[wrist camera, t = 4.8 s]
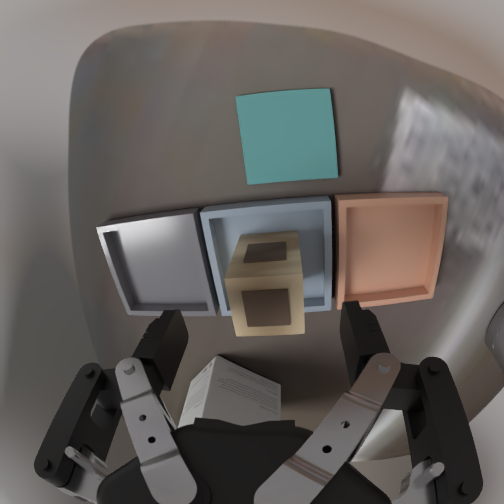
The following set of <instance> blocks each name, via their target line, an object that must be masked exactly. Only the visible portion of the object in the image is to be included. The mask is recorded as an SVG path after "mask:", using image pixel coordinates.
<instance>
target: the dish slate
mask: <svg viewBox="0 0 504 504" xmlns="http://www.w3.org/2000/svg"><path fill="white" fill-rule="evenodd" d="M200 216H201V221H202V226H203V231H204V236H205V241H206V246H207V251H208V255H209V260H210V265H211V269H212V274H213V278H214V283H215V287H216V291H217V296H218V300H219V304H220V309H221V313H222V316H232V314H231V310H230V305H229V300H228V295H227V291H226V286H225V281H224V278H225V275H226V272H227V269H228V267H229V264H230V261H231V259H232V256H233V253H234V250H235V248H236V245H237V242H238V240H239V237H240V235H245V234H257V233H270V232H282V231H296V230H297V232H298V239H299V247H300V255H301V263H302V272H303V292H304V312H315V311H327V310H331V294H332V221H331V200H330V199H329V197H328V196H327V195H323V196H308V197H294V198H282V199H270V200H259V201H249V202H239V203H230V204H221V205H212V206H205V207H204V209H203V210H202V211H201V212H200Z"/></svg>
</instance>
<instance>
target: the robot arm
mask: <svg viewBox="0 0 504 504" xmlns="http://www.w3.org/2000/svg"><path fill="white" fill-rule="evenodd" d="M145 332H146V333H144V335H143V337H142V339H141V341H140V342H139V344H138V346H137V348H136V350H135V352H134V353H133V355H132V357H131V358H127V359H124V360H122V361H121V362H120V363H119V364H118V365H117V366H116V368H114V369H107V370H102V368H101V367H100V365H99V364H97V363H89V364H86V365H84V366H83V367H82V368H81V369H80V370H79V372H78V374H77V375H76V377H75V379H74V381H73V383H72V385H71V386H70V388H69V390H68V392H67V394H66V396H65V397H64V399H63V401H62V403H61V405H60V407H59V409H58V411H57V413H56V415H55V417H54V419H53V421H52V423H51V425H50V427H49V429H48V432H47V434H46V436H45V438H44V440H43V442H42V445H41V447H40V449H39V451H38V454H37V456H36V459H35V462H34V468H35V471H36V473H37V474H38V475H39V476H40V477H41V478H43V479H44V480H46V481H47V482H49V483H50V484H51V485H53V486H54V487H56V488H57V489H59V490H61V491H63V492H64V493H66V494H68V495H71V496H73V497H75V498H77V499H79V500H81V501H91V502H93V503H96V504H470V503H472V502H474V501H475V500H476V499H477V498H478V496H479V495H480V493H481V491H482V487H483V479H482V474H481V469H480V465H479V460H478V456H477V452H476V448H475V445H474V440H473V437H472V433H471V430H470V427H469V423H468V420H467V417H466V414H465V411H464V408H463V405H462V402H461V399H460V396H459V394H458V391H457V388H456V386H455V383H454V381H453V378H452V376H451V373H450V371H449V368H448V366H447V364H446V363H445V362H444V361H443V360H442V359H440V358H437V357H428V358H425V359H424V360H422V361H421V363H420V365H413V364H404V363H401V362H400V361H399V359H398V358H397V357H396V356H394V355H392V354H391V353H390V351H389V348H388V346H387V343H386V340H385V338H384V335H383V333H382V331H381V328H380V325H379V323H378V320H377V318H376V316H375V315H374V314H373V313H372V312H371V311H370V310H369V309H368V310H362V309H361V307H360V304H359V301H358V300H354V301H344V302H342V310H341V322H340V336H341V341H342V345H343V350H344V354H345V359H346V364H347V368H348V373H349V378H350V383H351V389H350V391H349V392H345V393H344V394H343V395H342V396H341V398H340V399H339V400H338V402H337V403H336V405H335V406H334V407H333V409H332V410H331V411H330V413H329V414H328V415H327V416H326V418H325V419H324V420H323V422H322V423H321V424H320V425H319V427H318V428H317V429H316V430H315V431H314V432H312V431H310V430H308V429H305V428H301V427H296V426H295V420H280V421H266V422H261V423H256V424H251V425H246V426H241V425H237V424H233V423H229V422H226V421H222V420H219V419H208V418H197V417H195V420H194V424H189V425H185V426H182V427H179V428H177V427H176V426H175V424H174V422H173V420H172V418H171V416H170V414H169V412H168V410H167V408H166V406H165V404H164V402H163V400H162V397H161V396H160V393H161V391H162V390H166V391H170V390H171V387H172V384H173V381H174V378H175V376H176V373H177V370H178V367H179V365H180V362H181V359H182V357H183V354H184V351H185V349H186V346H187V343H188V331H187V328H186V325H185V322H184V319H183V316H182V313H181V311H180V310H179V309H165V310H164V311H163V313H162V314H161V316H160V318H156V319H155V320H154V321H153V322H152V323H151V324H149V326H148V328H147V330H146V331H145ZM486 344H487V346H488V348H489V349H490V351H491V353H492V354H493V356H494V358H495V359H496V361H497V363H498V364H499V366H500V368H501V370H502V371H503V373H504V304H503V305H502V306H501V307H500V309H499V310H498V311H497V313H496V314H495V316H494V318H493V319H492V321H491V323H490V325H489V327H488V330H487V333H486ZM95 401H96V402H97V405H96V407H95V409H94V412H93V414H92V416H91V417H90V413H91V409H92V408H93V405H94V403H95ZM383 409H394V410H402V411H403V416H404V421H405V426H406V431H407V437H408V443H409V449H410V455H411V461H412V470H411V471H410V472H409V473H408V474H407V475H406V476H405V477H404V478H403V480H402V482H401V486H400V492H399V495H398V496H397V498H396V499H395V500H393V501H391V500H390V499H389V497H388V496H387V495H386V494H385V493H384V492H383V491H381V490H380V489H379V488H378V487H377V486H375V485H374V484H373V483H372V482H370V481H369V480H368V479H367V478H366V477H365V476H363V475H362V474H361V473H360V472H359V471H358V470H357V469H355V468H354V467H353V466H352V465H351V464H350V462H351V461H352V459H353V458H354V457H355V455H356V454H357V452H358V451H359V449H360V447H361V446H362V444H363V443H364V441H365V439H366V437H367V436H368V434H369V433H370V431H371V429H372V428H373V426H374V424H375V423H376V421H377V419H378V418H379V416H380V414H381V412H382V410H383ZM122 412H123V415H124V419H125V422H126V425H127V428H128V431H129V434H130V436H131V439H132V442H133V445H134V447H135V450H136V453H137V455H138V456H137V457H135V458H134V459H132V460H131V461H129V462H128V463H126V464H125V465H123V466H122V467H120V468H119V469H117V470H116V471H114V472H113V473H111V474H108V473H107V471H108V470H107V466H106V464H105V460H106V457H107V454H108V451H109V448H110V445H111V442H112V439H113V437H114V434H115V431H116V428H117V426H118V423H119V419H120V417H121V415H122Z"/></svg>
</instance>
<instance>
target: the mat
mask: <svg viewBox="0 0 504 504" xmlns="http://www.w3.org/2000/svg"><path fill="white" fill-rule="evenodd" d="M236 104H237V111H238V118H239V125H240V133H241V140H242V147H243V154H244V161H245V169H246V176H247V183H248V185H251V184H261V183H271V182H283V181H295V180H309V179H325V178H338V168H337V153H336V141H335V130H334V120H333V111H332V103H331V95H330V89H303V90H288V91H277V92H267V93H258V94H250V95H243V96H236Z"/></svg>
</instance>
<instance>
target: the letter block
mask: <svg viewBox="0 0 504 504" xmlns="http://www.w3.org/2000/svg"><path fill="white" fill-rule="evenodd" d="M224 281H225V286H226V291H227V295H228V300H229V305H230V310H231V314H232V319H233V323H234V328H235V332H236V336H268V335H290V334H305V327H304V292H303V272H302V263H301V255H300V247H299V239H298V232H297V230H296V231H282V232H270V233H257V234H245V235H240V237H239V240H238V242H237V245H236V248H235V250H234V253H233V256H232V259H231V261H230V264H229V267H228V269H227V272H226V275H225V278H224Z"/></svg>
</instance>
